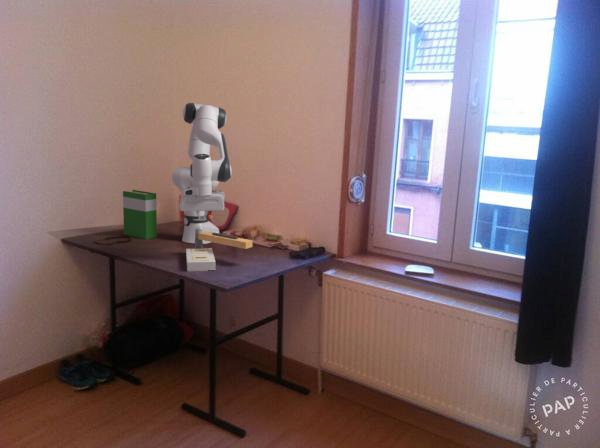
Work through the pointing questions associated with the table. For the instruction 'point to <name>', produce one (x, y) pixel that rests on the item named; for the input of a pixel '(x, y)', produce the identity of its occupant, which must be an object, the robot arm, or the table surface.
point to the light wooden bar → (223, 239)
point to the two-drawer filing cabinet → (200, 258)
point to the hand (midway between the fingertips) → (201, 220)
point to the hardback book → (140, 214)
